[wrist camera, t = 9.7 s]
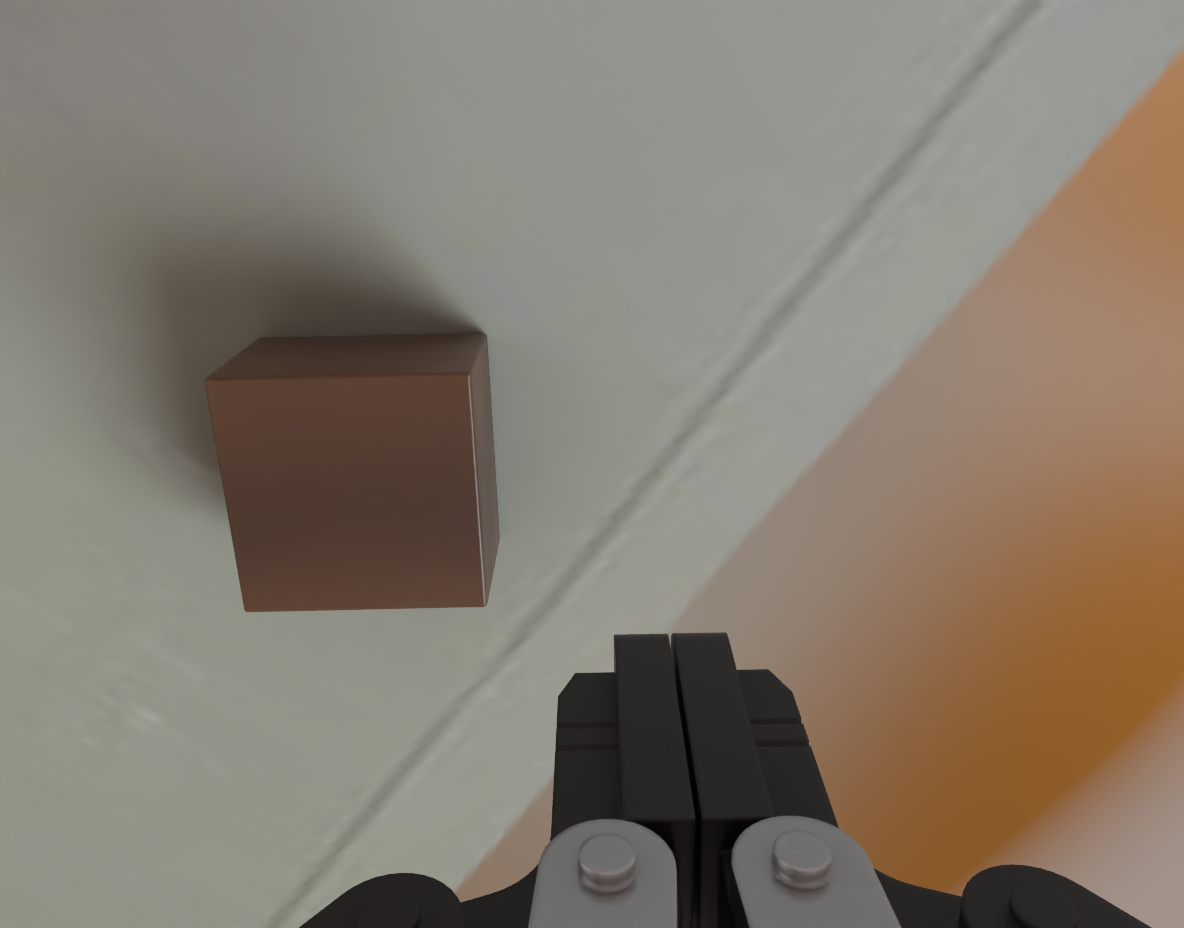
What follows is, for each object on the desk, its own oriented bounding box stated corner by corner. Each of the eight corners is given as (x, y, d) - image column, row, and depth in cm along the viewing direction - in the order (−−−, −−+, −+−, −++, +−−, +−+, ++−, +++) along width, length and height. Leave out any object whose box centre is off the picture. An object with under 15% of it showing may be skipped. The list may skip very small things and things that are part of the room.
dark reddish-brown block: (257, 337, 21) (202, 378, 18) (487, 332, 21) (470, 372, 18) (288, 545, 23) (243, 614, 20) (500, 540, 23) (487, 608, 20)
